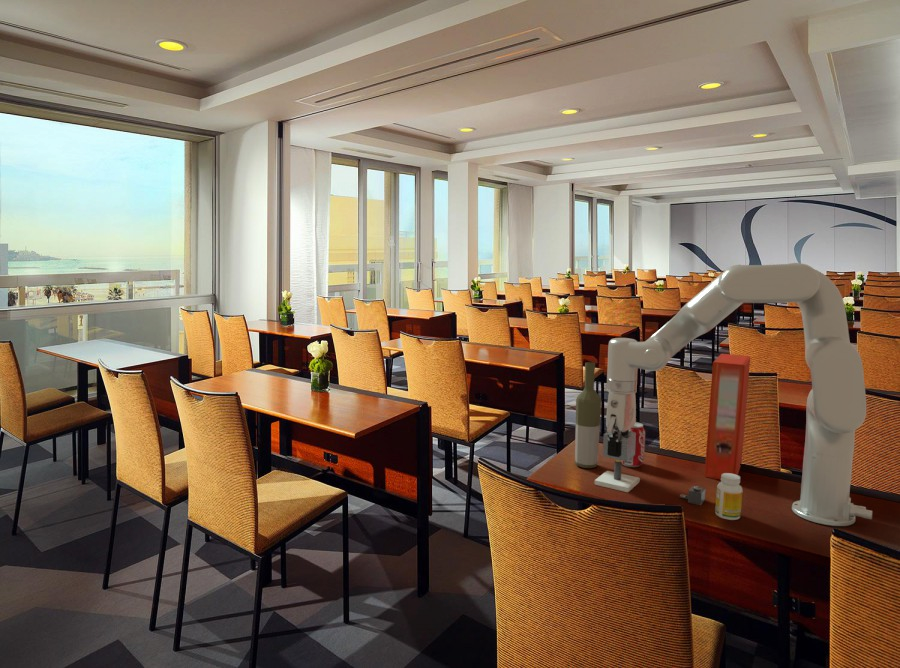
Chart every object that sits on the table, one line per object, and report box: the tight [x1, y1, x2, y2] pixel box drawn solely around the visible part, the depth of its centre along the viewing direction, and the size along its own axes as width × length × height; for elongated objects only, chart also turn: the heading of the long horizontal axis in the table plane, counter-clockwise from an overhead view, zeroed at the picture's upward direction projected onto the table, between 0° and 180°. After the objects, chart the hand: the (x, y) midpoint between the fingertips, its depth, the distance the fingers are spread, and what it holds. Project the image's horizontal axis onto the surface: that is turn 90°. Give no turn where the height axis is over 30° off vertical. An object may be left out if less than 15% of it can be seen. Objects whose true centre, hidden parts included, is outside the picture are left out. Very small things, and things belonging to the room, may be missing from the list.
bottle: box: [574, 361, 602, 469], centre depth 171 cm, size 7×7×30 cm
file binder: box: [704, 353, 751, 481], centre depth 168 cm, size 8×17×32 cm, turn 150°
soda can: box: [622, 421, 646, 468], centre depth 173 cm, size 7×7×12 cm
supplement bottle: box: [714, 473, 744, 521], centre depth 139 cm, size 5×5×10 cm
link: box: [602, 431, 636, 461], centre depth 158 cm, size 6×6×6 cm
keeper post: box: [594, 459, 641, 493], centre depth 159 cm, size 9×9×7 cm
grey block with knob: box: [679, 485, 706, 506], centre depth 148 cm, size 5×4×4 cm
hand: (618, 451), depth 158 cm, fingers closed on link, 6 cm apart
